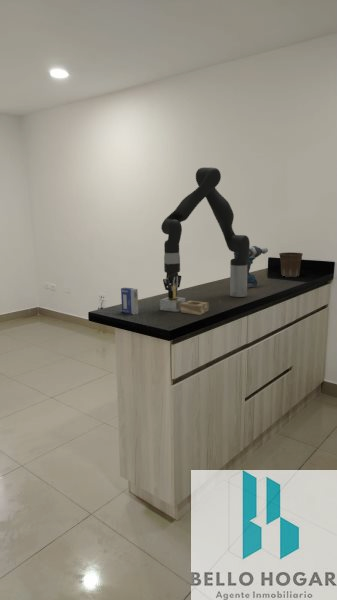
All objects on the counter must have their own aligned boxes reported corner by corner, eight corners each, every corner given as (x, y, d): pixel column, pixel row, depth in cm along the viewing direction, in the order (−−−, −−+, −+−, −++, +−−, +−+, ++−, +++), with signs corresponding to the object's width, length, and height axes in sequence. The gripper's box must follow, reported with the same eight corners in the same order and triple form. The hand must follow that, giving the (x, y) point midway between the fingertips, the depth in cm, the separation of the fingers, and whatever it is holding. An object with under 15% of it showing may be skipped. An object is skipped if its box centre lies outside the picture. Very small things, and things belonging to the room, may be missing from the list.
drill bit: (171, 307, 203) (171, 283, 200) (177, 308, 201) (177, 284, 198) (168, 309, 200) (167, 284, 197) (174, 309, 198) (173, 285, 196)
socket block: (169, 306, 207) (169, 296, 205) (185, 307, 202) (185, 298, 201) (160, 309, 199) (160, 299, 198) (176, 311, 194) (176, 301, 193)
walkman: (121, 312, 195) (120, 287, 193) (125, 311, 198) (124, 286, 195) (134, 314, 191) (133, 289, 189) (138, 313, 193) (137, 288, 191)
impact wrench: (269, 286, 255) (270, 245, 250) (237, 289, 247) (238, 247, 242) (262, 284, 262) (263, 244, 257) (231, 287, 254) (231, 246, 249)
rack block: (190, 308, 201) (190, 300, 200) (208, 310, 195) (208, 302, 195) (180, 312, 193) (180, 304, 192) (199, 314, 188) (199, 306, 187)
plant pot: (293, 278, 282) (294, 255, 278) (273, 276, 294) (274, 253, 290) (306, 276, 292) (307, 253, 289) (286, 273, 304) (287, 252, 301)
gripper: (172, 260, 204) (173, 294, 207) (157, 263, 192) (158, 299, 195) (186, 260, 200) (186, 295, 203) (171, 264, 188) (171, 301, 191)
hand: (172, 297), depth 199 cm, fingers closed on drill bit, 3 cm apart
